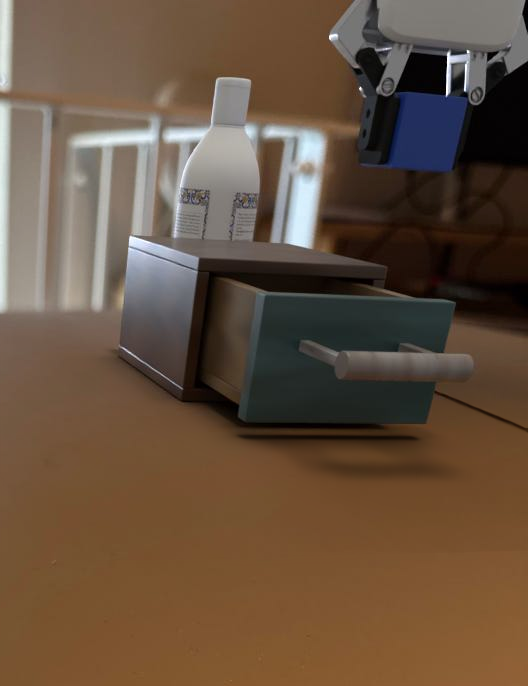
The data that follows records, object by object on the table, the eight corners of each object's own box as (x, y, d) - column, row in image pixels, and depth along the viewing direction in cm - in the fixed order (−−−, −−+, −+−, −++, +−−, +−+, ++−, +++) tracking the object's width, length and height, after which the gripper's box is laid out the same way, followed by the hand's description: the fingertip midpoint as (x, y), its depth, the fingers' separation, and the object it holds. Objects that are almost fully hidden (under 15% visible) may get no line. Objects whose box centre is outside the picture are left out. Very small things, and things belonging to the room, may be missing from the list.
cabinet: (359, 403, 64) (388, 266, 60) (181, 401, 61) (199, 257, 57) (269, 359, 77) (288, 243, 73) (117, 355, 74) (129, 234, 70)
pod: (416, 170, 70) (432, 99, 68) (451, 172, 66) (469, 97, 64) (360, 166, 69) (374, 94, 67) (392, 168, 65) (408, 91, 63)
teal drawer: (488, 453, 51) (525, 320, 48) (290, 453, 48) (316, 312, 45) (320, 374, 68) (340, 271, 65) (167, 371, 65) (180, 264, 62)
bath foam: (235, 324, 92) (271, 84, 83) (241, 336, 86) (280, 78, 77) (163, 318, 93) (191, 79, 83) (164, 329, 86) (194, 72, 77)
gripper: (557, -131, 64) (481, 173, 72) (323, -168, 60) (272, 156, 69) (639, -161, 57) (545, 177, 66) (382, -204, 54) (317, 158, 62)
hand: (406, 163), depth 67 cm, fingers closed on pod, 4 cm apart
